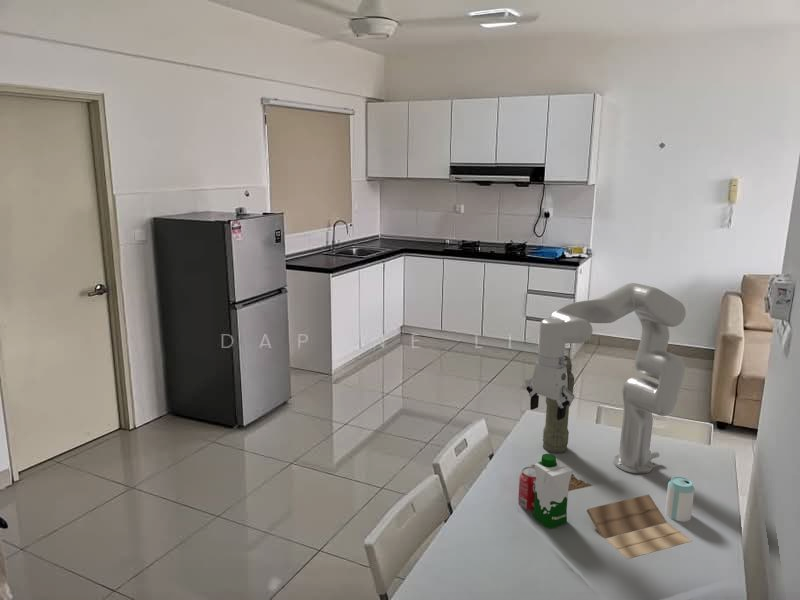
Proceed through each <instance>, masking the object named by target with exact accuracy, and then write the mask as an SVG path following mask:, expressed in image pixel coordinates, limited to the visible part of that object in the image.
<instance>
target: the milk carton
mask: <svg viewBox="0 0 800 600" xmlns="http://www.w3.org/2000/svg"><path fill="white" fill-rule="evenodd" d="M533 465H535V474H536V487H535V502H534V510H532V511H533V512H532V517H533V518H534V519H535V520H536V521H538V523H540V524H541V525H543V526H544V527H545V528H546V529H548V530H549V529H550V530H551V529H554V528H557V527H560V526H562V525H566V524H567V523H568V512H567V511H568V510H567V509H568V497H569V496H568V495H569V490H568V487H569V482H570V478H571V475H572V474H573V472H574V470H573V469H572V468H570V467H569V466H568V465H567V464H565V463H563V462H562V461H560V460H558V459H557V457H556V455H554V454H553V453H544V454H542V455H541V460H540V461H539V462H536V463H534V464H533Z"/></svg>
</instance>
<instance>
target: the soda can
mask: <svg viewBox="0 0 800 600" xmlns="http://www.w3.org/2000/svg"><path fill="white" fill-rule="evenodd" d="M535 487H536V474H535V467H532V466H526V467H523V469H522V471H521V472H520V474H519V482H518V495H517V496H518V498H517V499H518V505H519V506H520V507H521V508H522V509H524V510H527V511H534V502H535Z"/></svg>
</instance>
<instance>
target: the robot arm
mask: <svg viewBox="0 0 800 600" xmlns="http://www.w3.org/2000/svg"><path fill="white" fill-rule="evenodd" d="M633 312H634V313H635V315H636V316H637V318H638V320H639V322H640V324H641V336H640V341H639V345H638V347H637V351H636V356H635V358H634V359H635V361H634V368H635V370H636V371H638V372H639V373H640V374H642V375H644V376H647V377H650V378H653V379H655V380H658V383H657V382H655V381H652V380H649V379H647V378H644V377H640V376H631V377H629V378H627V379H626V380H625V381H624V382H623V385H622V391H621V392H622V393H621V394H622V403H623V408H622V409H623V411H622V412H623V413H622V424H621V431H620V432H621V433H620V434H621V435H620V442H619V444H620V445H619V452H618V454H616V456H614V458H613V463H614V465H615V466H616V468H619V469H620V470H622V471H625V472H627V473H631V474H640V475H641V474H647V473H649V472H651V471H653V467H654V465H653V463H652V460H653V459H656V458H659V457H660V453H659V452H658V451H653V452H651V450H650V449H651V440H652V432H653V424H654V420H653V419H654V417H653V414H655V415H657V416H660V417H666V416H669V415H671V413H673V411H674V409H675V407H676V404H677V401H678V398H679V395H680V390H681V388H682V384H683V380H684V377H685V370H686V368H685V363H684V361H683V359H682V358H681V357H680V356H679V355H677V354H674V353H671V352H668V351H667V349H668V345H669V341H670V330H669V329H670V328H675V327H678V326H679V325H682V323H683V322H684V320H685V319H686V315H687V314H686V307H685V305H684V304H683V303H682V302H681V301H680V300H678V299H677V298H675V297H673V296H671V295H670V294H669V293H668V292H667V293H666V292H665V291H663V290H662V289H660V288H657V287H655V286H649V285H646V284H645V285H644V284H641V283H636V282H631V283H626V284H624V285H622V286H619V287H618V288H617V289H615V290H612V291H610V292H608V293H606V294H604V295H603V296H601V297H598V298H591V299H586V300H581V301H580V300H579V301H576V302H572V303H568V304H566V305H564V306H562V307H560V308H558V309H556V310H555V311H554V312H552V313H551V314H550V315H549V316H548V318H544V319H542V320H541V322H540V323H539V324H540V325H539V336H538V337H539V338H538V354H537V361H536V362H535V365H534V369H533V375H532V378H528V379H525V380H524V384H525V386H526V391H527V392H528V396H529V397H530V399H529V400H530V403H529V405H530V407H529V409H530V410H531V411H533V410H535V409H539V403H540V402H539V401H540V396H542V397H545V398H546V397H548V398H551V399H554V400H556V401H557V403H558V405H559V407H558V408H557V420H561V419H563V418H564V417H565V414H566V406H568V405H569V404H570V403H571V404H572V402H573V401H574V400H575V397H576V396H575V394H574V393H573V394H572V393H571V392H570V391H569V390H568V377H567V369H566V366H564V365H566V364H567V361H565V360H564V355H565V353H566V352H565V349H566V345H567V344H582V343H586V342H587V341H588V340H589V339H591V337H592V335H593V326H592V324H612V323H615V322H616V321H618V320H620V319H622V318H624V317H625V316H627V315H629V314H631V313H633ZM669 327H670V328H669ZM539 395H540V396H539ZM566 396H567V397H568V398H567V400H566V399H565V397H566ZM560 399H561V400H562V401H561V400H560ZM562 402H563V403H562Z"/></svg>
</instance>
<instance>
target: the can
mask: <svg viewBox="0 0 800 600" xmlns="http://www.w3.org/2000/svg"><path fill="white" fill-rule="evenodd" d="M693 484H694V483H693V482H692V480H690V479H688V478H686V477H684V476H673V477H671V479H670V481H668V483H667V490H666V499H665V505H664V506H665V507H664V508H665V509H664V514H665V516H666V517H668V518H669V519H671V520H674V521H677V522H689V521H690V520H691V518H692V513H693V512H692V511H693V505H694V504H693V503H694V497H695V486H694V485H693Z"/></svg>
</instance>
